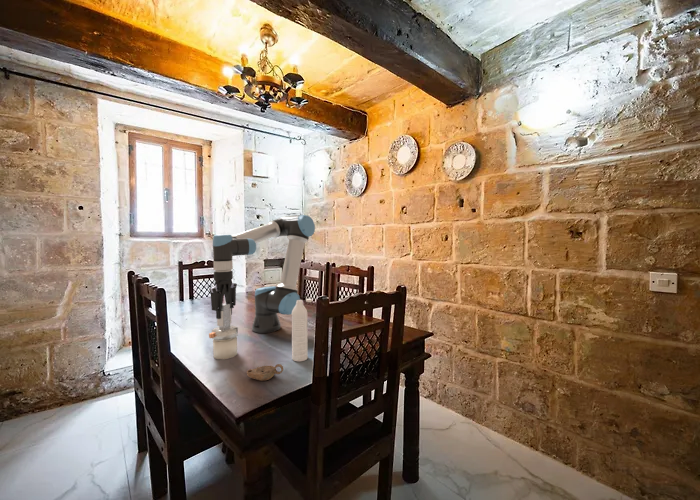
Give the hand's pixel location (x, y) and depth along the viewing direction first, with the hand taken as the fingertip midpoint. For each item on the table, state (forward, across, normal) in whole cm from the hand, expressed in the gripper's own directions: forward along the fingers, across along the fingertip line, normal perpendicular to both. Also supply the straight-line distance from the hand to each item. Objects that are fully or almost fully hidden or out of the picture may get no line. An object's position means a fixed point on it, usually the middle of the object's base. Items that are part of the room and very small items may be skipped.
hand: (224, 324), depth 133 cm
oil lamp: (+14, +10, +30) cm, 34 cm away
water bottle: (+14, -10, +33) cm, 37 cm away
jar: (+14, 0, 0) cm, 14 cm away
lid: (+5, +1, 0) cm, 5 cm away
